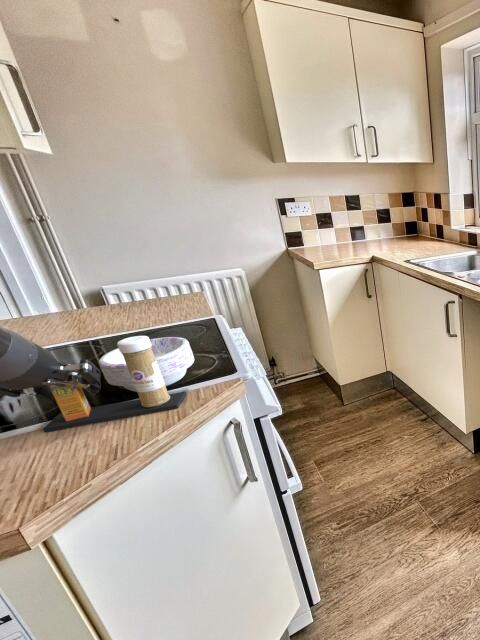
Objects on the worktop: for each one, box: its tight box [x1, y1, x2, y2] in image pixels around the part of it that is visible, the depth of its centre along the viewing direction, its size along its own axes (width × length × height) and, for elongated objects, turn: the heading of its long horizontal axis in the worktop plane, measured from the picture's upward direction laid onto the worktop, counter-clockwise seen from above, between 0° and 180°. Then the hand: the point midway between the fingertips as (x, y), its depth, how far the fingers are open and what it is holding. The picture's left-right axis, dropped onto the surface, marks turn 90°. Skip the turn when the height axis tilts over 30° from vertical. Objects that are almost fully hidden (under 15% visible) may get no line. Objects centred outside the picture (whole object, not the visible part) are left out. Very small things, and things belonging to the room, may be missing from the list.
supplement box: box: [49, 363, 92, 421], centre depth 77 cm, size 3×3×10 cm
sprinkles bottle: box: [116, 335, 170, 407], centre depth 81 cm, size 5×5×13 cm
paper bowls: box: [98, 336, 195, 393], centre depth 92 cm, size 15×15×8 cm
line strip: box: [42, 391, 187, 433], centre depth 81 cm, size 20×6×1 cm, turn 113°
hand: (74, 391), depth 79 cm, fingers open, 6 cm apart
